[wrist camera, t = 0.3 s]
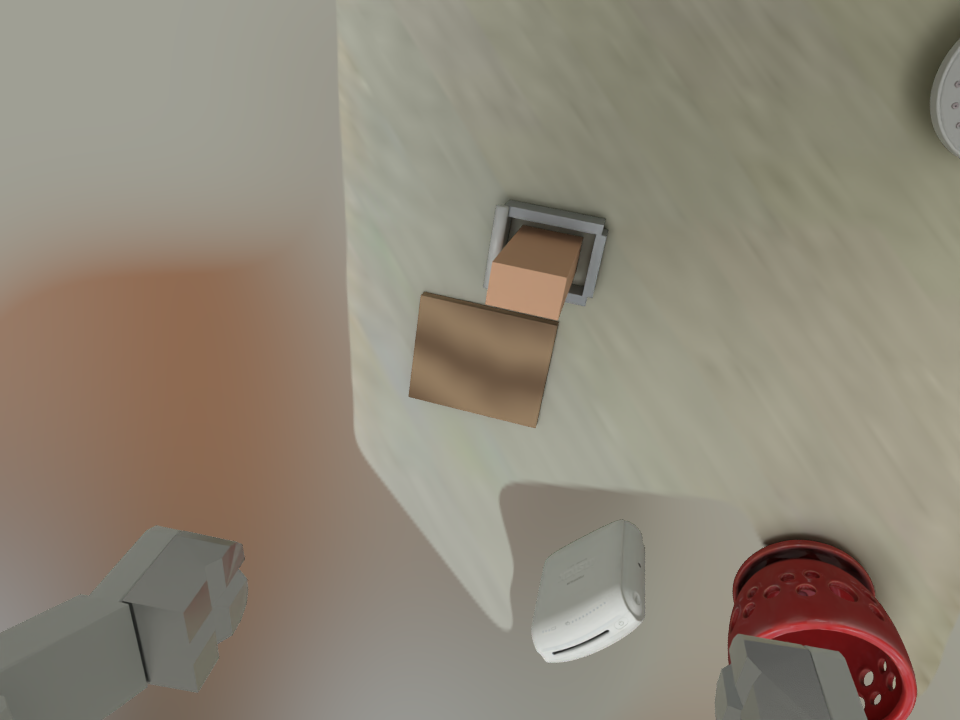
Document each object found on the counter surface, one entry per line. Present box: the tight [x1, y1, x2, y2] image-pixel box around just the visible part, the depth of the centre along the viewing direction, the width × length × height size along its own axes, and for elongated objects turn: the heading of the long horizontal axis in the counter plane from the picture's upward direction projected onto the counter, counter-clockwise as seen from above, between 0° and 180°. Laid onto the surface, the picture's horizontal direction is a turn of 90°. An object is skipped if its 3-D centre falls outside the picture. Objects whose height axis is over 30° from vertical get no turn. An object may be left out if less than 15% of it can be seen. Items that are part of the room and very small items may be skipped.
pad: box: [409, 292, 559, 428], centre depth 61 cm, size 10×12×1 cm
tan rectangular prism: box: [485, 225, 583, 321], centre depth 51 cm, size 3×5×12 cm, turn 81°
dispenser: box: [483, 200, 608, 306], centre depth 54 cm, size 7×9×4 cm
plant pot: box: [728, 540, 917, 720], centre depth 57 cm, size 13×13×12 cm
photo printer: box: [531, 519, 645, 663], centre depth 61 cm, size 10×4×12 cm, turn 130°
